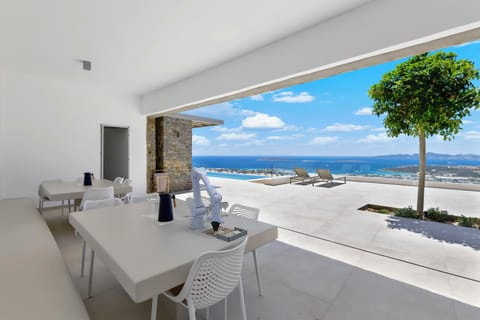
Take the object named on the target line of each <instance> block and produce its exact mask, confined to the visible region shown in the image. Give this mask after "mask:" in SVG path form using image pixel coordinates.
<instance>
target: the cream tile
mask: <svg viewBox="0 0 480 320" xmlns="http://www.w3.org/2000/svg"><path fill="white" fill-rule="evenodd" d="M217 233H218V234H221V235H224V236H225V234H224V231H221V230H218V231H215V232H214V235H216V234H217Z"/></svg>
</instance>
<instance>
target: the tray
mask: <svg viewBox="0 0 480 320" xmlns="http://www.w3.org/2000/svg"><path fill="white" fill-rule="evenodd" d="M233 230H234V231H240V233H238V234H235V235H233V234H232V235H231V236H227V235H225V234H224V235H221V234H218V233H217V234H216V237H215V238H217V239H219V240H222V241H225V242H228V243H229V242H232V241H235V240H237V239H239V238H242V237H245V236H247V235H248V230H247V229H245V228H240V227H236V226H234V227H233ZM234 231H233V232H234Z"/></svg>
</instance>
